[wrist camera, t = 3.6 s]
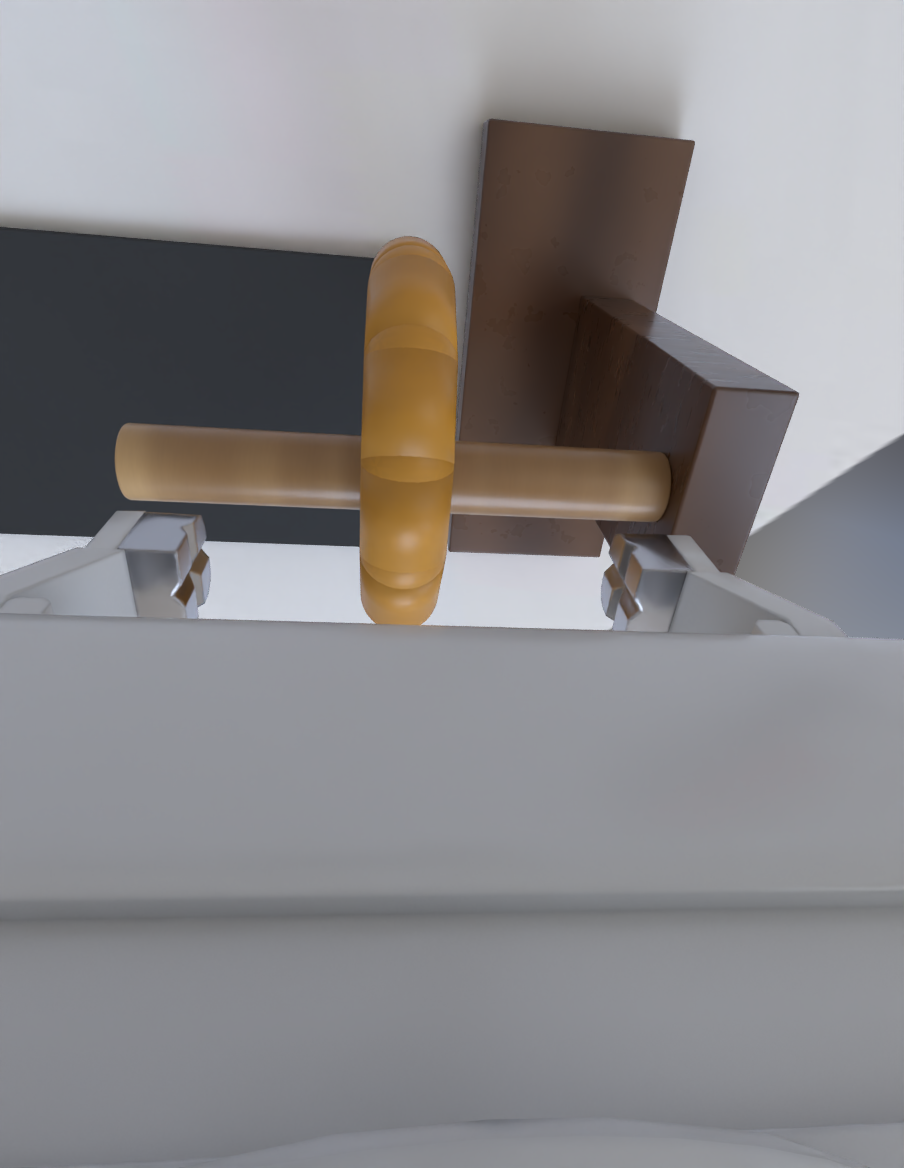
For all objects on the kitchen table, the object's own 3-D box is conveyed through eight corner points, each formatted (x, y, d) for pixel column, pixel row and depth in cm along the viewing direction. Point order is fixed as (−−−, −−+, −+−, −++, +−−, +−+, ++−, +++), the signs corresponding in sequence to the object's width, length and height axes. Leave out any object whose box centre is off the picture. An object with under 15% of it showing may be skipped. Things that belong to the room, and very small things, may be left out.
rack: (679, 142, 23) (954, 118, 12) (591, 542, 32) (703, 752, 20) (209, 91, 22) (6, 7, 10) (248, 529, 30) (160, 751, 19)
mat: (-33, 528, 29) (-39, 532, 29) (-139, 215, 23) (-147, 216, 22) (402, 544, 31) (403, 548, 31) (417, 261, 25) (417, 262, 24)
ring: (421, 525, 25) (436, 708, 17) (368, 523, 25) (356, 706, 16) (441, 227, 20) (478, 273, 11) (374, 221, 20) (360, 263, 11)
